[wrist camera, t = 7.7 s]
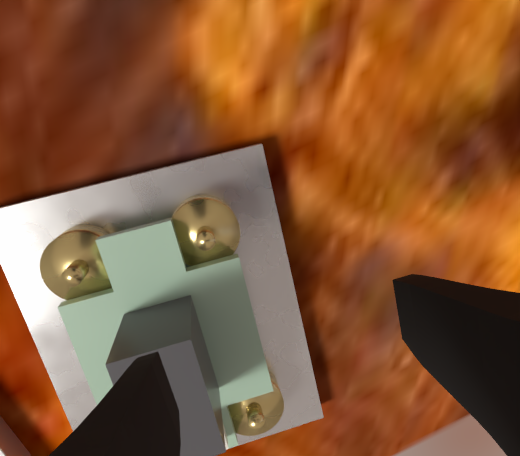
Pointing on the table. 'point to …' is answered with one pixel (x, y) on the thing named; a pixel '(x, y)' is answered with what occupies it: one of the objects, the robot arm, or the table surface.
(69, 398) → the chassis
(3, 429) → the picture frame
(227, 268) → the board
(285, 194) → the table surface
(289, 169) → the table surface
